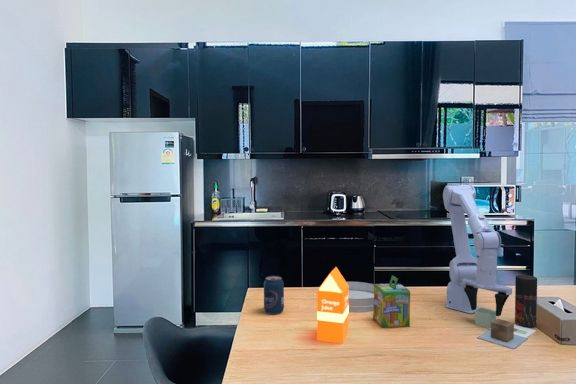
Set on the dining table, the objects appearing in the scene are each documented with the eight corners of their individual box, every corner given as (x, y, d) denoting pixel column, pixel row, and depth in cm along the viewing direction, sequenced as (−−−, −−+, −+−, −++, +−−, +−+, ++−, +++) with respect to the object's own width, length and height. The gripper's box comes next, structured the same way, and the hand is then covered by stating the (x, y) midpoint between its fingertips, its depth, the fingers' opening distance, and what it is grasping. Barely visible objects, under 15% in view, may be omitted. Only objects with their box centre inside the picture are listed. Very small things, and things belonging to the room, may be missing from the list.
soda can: (260, 313, 140) (260, 279, 139) (269, 307, 146) (268, 274, 146) (279, 316, 137) (278, 281, 137) (286, 309, 144) (286, 276, 143)
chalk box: (372, 317, 135) (372, 274, 135) (399, 316, 137) (399, 272, 136) (382, 328, 126) (382, 281, 125) (410, 327, 127) (411, 280, 127)
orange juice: (349, 332, 124) (349, 267, 123) (343, 343, 115) (343, 274, 114) (324, 329, 126) (323, 265, 125) (316, 340, 118) (316, 272, 117)
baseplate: (477, 338, 119) (477, 337, 118) (491, 329, 125) (491, 328, 125) (514, 349, 111) (514, 348, 111) (527, 339, 117) (527, 338, 117)
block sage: (475, 324, 129) (475, 310, 129) (481, 321, 132) (481, 307, 132) (489, 328, 126) (489, 314, 126) (495, 324, 129) (496, 310, 128)
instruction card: (499, 332, 123) (499, 331, 123) (511, 324, 129) (511, 323, 129) (525, 339, 118) (525, 338, 118) (536, 330, 123) (536, 330, 123)
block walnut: (490, 337, 118) (491, 322, 118) (497, 333, 121) (497, 318, 121) (507, 342, 115) (507, 326, 114) (513, 338, 118) (513, 322, 117)
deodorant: (539, 328, 125) (540, 280, 125) (518, 327, 126) (519, 279, 126) (531, 321, 131) (532, 275, 131) (511, 320, 132) (512, 274, 132)
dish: (393, 299, 155) (393, 286, 155) (372, 317, 137) (372, 302, 136) (340, 290, 167) (340, 278, 167) (314, 306, 148) (314, 292, 148)
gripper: (458, 267, 131) (457, 309, 131) (505, 276, 120) (505, 321, 121) (468, 264, 135) (467, 304, 136) (515, 272, 125) (514, 316, 125)
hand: (485, 312), depth 129 cm, fingers open, 7 cm apart
